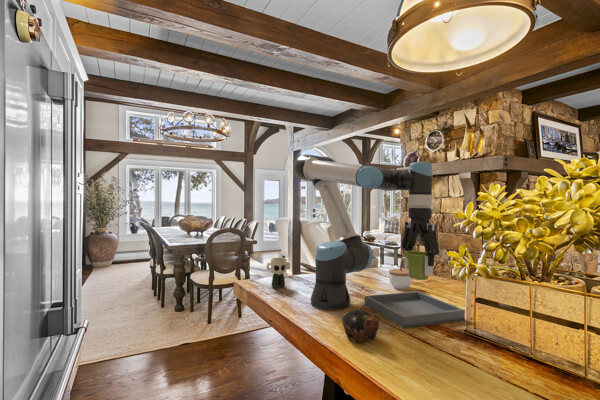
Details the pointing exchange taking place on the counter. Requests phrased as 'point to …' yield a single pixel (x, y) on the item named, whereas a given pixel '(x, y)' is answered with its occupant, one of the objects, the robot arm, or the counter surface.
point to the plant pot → (416, 264)
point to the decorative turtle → (360, 325)
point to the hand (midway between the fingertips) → (418, 272)
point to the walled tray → (414, 309)
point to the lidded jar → (400, 278)
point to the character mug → (278, 271)
